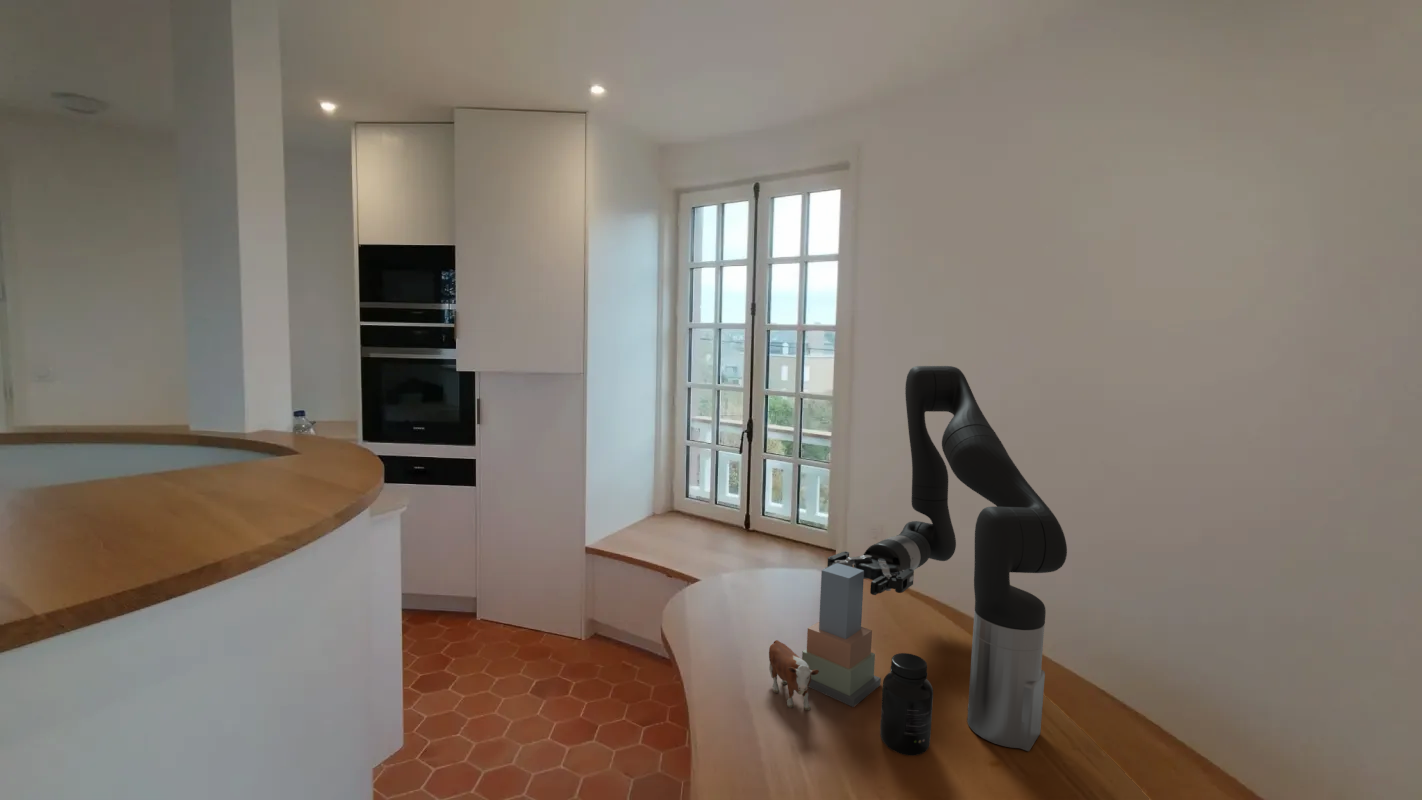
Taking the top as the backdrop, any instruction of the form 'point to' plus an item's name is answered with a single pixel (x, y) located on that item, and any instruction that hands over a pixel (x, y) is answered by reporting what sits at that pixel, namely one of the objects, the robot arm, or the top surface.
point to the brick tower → (841, 664)
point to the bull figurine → (790, 672)
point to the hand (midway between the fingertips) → (849, 581)
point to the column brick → (841, 600)
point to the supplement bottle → (906, 706)
